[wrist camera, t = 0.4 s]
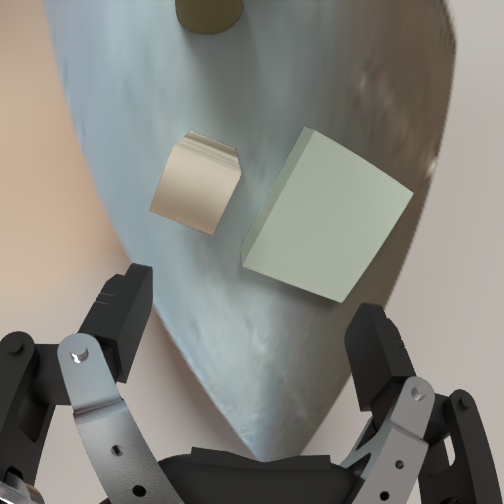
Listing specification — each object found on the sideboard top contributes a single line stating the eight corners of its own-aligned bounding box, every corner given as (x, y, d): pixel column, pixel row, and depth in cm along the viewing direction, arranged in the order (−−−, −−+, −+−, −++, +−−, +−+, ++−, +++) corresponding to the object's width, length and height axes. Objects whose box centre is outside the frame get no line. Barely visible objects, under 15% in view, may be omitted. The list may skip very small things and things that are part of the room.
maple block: (190, 130, 26) (173, 146, 17) (235, 149, 27) (241, 174, 18) (172, 173, 27) (148, 210, 19) (215, 191, 29) (212, 235, 20)
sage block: (303, 126, 27) (315, 130, 23) (394, 181, 30) (413, 193, 27) (239, 246, 32) (241, 266, 29) (331, 282, 36) (341, 302, 32)
